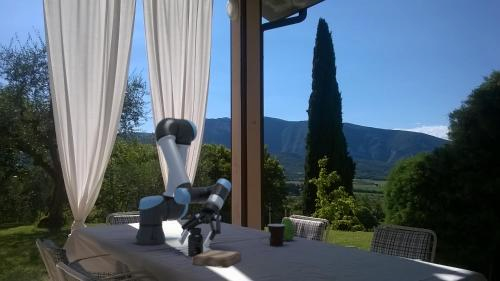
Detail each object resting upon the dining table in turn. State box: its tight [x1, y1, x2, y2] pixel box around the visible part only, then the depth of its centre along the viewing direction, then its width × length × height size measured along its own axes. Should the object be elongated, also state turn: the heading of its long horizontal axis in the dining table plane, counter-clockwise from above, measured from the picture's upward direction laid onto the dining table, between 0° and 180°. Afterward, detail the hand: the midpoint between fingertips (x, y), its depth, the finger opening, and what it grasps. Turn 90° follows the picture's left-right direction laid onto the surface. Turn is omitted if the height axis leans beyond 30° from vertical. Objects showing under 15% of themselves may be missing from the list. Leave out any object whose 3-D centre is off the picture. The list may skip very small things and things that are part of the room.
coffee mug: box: [267, 223, 285, 247], centre depth 220 cm, size 12×9×10 cm
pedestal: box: [192, 249, 242, 268], centre depth 179 cm, size 15×15×3 cm
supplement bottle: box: [187, 227, 204, 258], centre depth 192 cm, size 7×7×12 cm
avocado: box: [281, 217, 296, 242], centre depth 232 cm, size 8×8×12 cm
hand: (192, 244), depth 190 cm, fingers open, 13 cm apart
